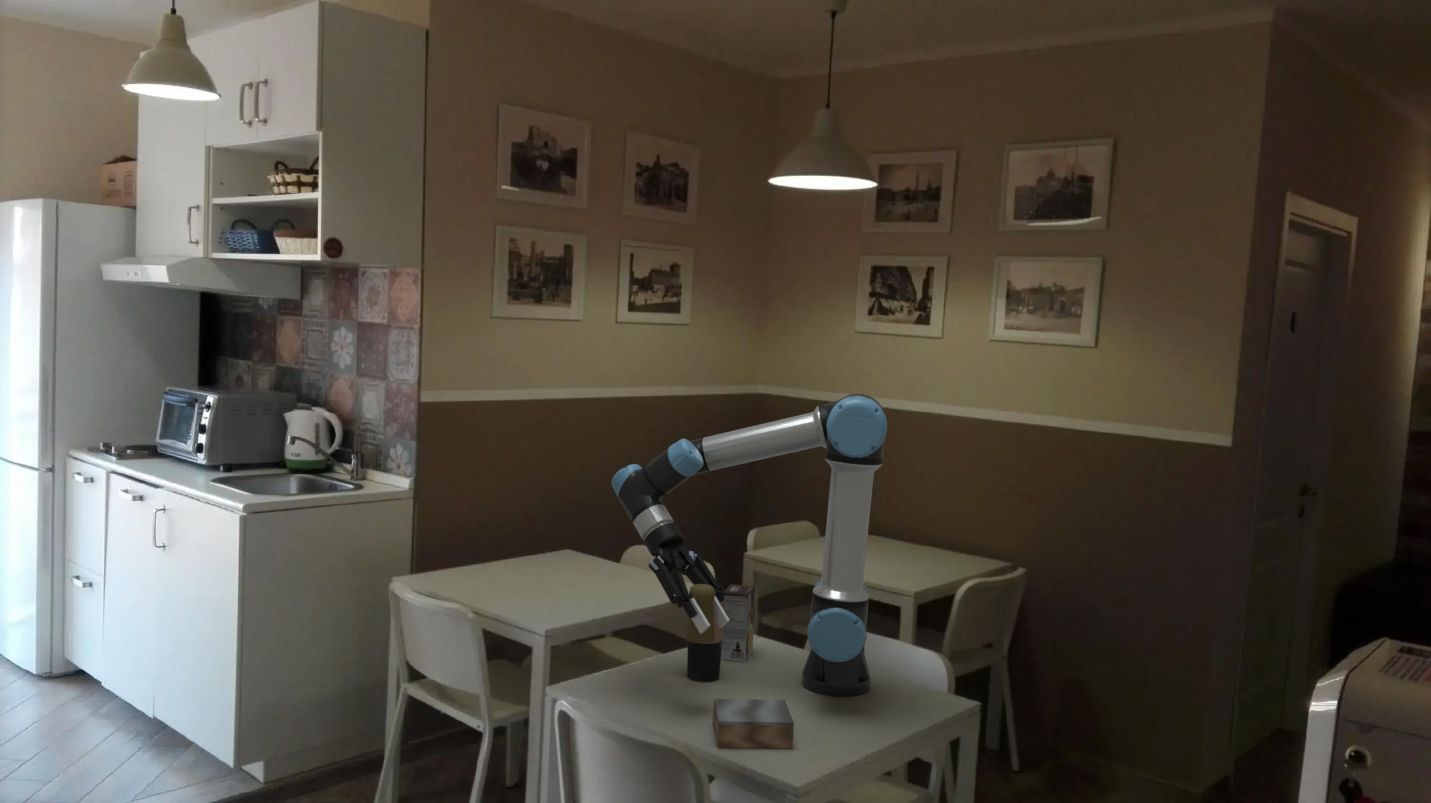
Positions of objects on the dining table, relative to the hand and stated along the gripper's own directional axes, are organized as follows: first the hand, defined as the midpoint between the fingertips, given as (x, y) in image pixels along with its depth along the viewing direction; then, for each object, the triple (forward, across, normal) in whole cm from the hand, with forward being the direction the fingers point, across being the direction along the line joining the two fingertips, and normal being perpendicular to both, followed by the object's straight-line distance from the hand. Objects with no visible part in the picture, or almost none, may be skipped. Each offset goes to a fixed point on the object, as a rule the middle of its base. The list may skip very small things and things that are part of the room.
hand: (715, 626), depth 215 cm
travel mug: (+1, -17, -25) cm, 30 cm away
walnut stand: (+21, +2, -4) cm, 22 cm away
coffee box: (-3, -34, -29) cm, 45 cm away
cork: (0, 0, -5) cm, 5 cm away
